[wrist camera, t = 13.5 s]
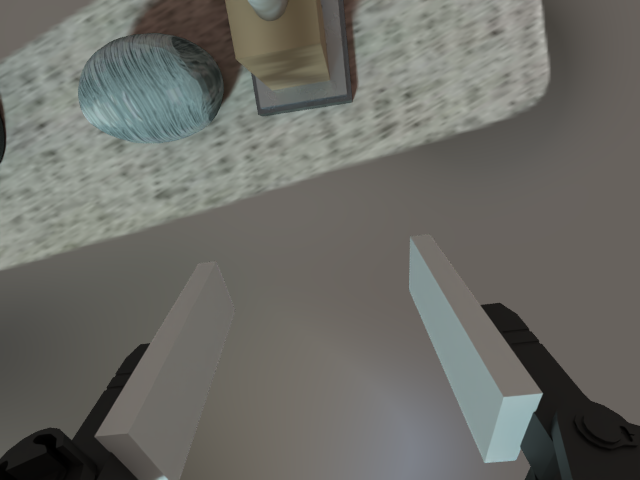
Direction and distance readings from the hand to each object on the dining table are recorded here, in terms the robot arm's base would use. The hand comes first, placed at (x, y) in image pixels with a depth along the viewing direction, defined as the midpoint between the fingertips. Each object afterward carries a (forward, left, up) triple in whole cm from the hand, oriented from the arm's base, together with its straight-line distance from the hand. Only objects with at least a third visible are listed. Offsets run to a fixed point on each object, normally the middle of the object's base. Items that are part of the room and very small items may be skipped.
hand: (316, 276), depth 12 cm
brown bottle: (-2, +15, -21) cm, 26 cm away
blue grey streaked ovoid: (-17, +13, -23) cm, 32 cm away
